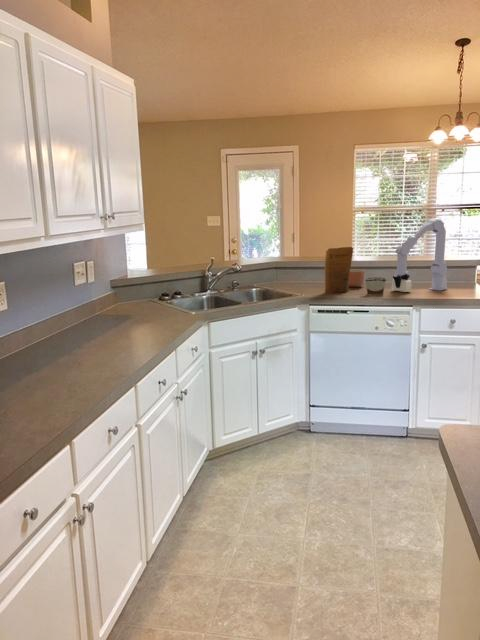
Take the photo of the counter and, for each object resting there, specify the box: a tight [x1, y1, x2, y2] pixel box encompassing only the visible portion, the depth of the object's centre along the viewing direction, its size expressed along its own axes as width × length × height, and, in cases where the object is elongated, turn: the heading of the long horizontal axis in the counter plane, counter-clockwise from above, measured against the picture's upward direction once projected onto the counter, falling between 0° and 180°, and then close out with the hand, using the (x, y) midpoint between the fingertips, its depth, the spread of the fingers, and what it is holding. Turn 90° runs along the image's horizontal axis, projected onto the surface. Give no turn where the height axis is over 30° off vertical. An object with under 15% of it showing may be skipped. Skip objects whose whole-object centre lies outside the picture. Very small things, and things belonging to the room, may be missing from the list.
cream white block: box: [390, 278, 413, 293], centre depth 321 cm, size 6×10×6 cm, turn 42°
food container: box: [364, 276, 387, 296], centre depth 314 cm, size 12×6×10 cm, turn 84°
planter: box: [348, 268, 366, 289], centre depth 342 cm, size 12×12×11 cm
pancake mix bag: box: [324, 246, 354, 294], centre depth 320 cm, size 7×19×28 cm, turn 104°
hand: (400, 287), depth 321 cm, fingers closed on cream white block, 6 cm apart
